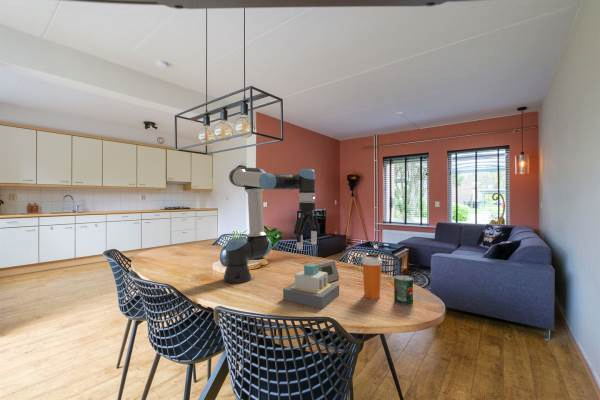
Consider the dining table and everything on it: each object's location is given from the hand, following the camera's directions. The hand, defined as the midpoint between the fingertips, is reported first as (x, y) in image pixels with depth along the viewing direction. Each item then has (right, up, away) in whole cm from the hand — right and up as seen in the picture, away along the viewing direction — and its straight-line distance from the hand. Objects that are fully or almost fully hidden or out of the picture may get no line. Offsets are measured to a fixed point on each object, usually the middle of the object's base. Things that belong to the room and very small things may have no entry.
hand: (307, 246), depth 129 cm
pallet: (+2, -18, -2) cm, 18 cm away
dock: (+2, -23, -2) cm, 23 cm away
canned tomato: (+42, -23, -9) cm, 49 cm away
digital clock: (+12, -23, +20) cm, 33 cm away
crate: (+2, -12, -2) cm, 12 cm away
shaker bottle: (+30, -23, -2) cm, 38 cm away
